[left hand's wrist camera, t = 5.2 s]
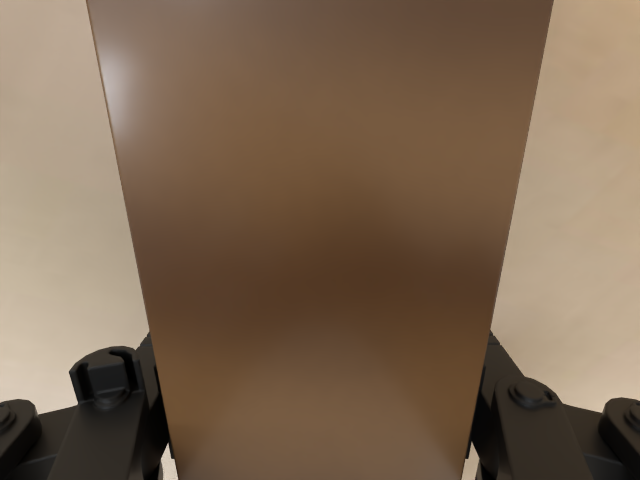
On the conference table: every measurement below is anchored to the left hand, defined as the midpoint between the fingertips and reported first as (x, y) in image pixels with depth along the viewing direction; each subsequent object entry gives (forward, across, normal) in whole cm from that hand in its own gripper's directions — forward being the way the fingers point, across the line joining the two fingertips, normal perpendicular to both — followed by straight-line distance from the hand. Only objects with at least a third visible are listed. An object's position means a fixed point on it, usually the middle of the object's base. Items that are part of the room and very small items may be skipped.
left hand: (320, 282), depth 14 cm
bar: (+1, 0, -26) cm, 26 cm away
